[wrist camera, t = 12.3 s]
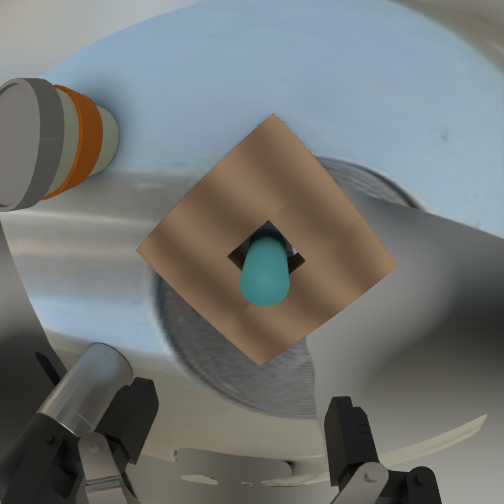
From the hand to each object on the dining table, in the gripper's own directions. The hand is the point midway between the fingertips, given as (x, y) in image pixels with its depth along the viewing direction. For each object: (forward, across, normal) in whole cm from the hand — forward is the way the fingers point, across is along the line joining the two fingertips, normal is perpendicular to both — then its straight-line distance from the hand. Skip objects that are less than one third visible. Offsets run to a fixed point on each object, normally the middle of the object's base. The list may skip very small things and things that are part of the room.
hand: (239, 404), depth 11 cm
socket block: (+22, -1, 0) cm, 22 cm away
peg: (+22, -1, 0) cm, 22 cm away
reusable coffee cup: (+22, +22, -13) cm, 34 cm away
